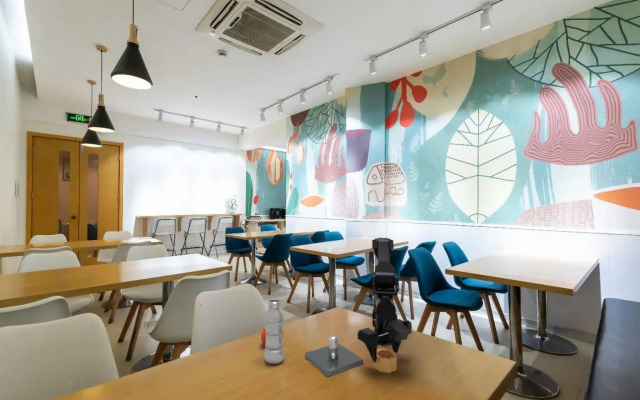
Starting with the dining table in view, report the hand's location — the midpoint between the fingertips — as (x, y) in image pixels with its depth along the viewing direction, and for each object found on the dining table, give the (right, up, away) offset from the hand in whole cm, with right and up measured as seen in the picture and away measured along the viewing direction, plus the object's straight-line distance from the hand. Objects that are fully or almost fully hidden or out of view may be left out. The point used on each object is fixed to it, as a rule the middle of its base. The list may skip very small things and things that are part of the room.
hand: (385, 358), depth 95 cm
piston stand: (-17, -3, +4) cm, 17 cm away
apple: (-39, -3, +14) cm, 41 cm away
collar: (0, -3, 0) cm, 3 cm away
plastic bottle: (-36, -3, +3) cm, 37 cm away
